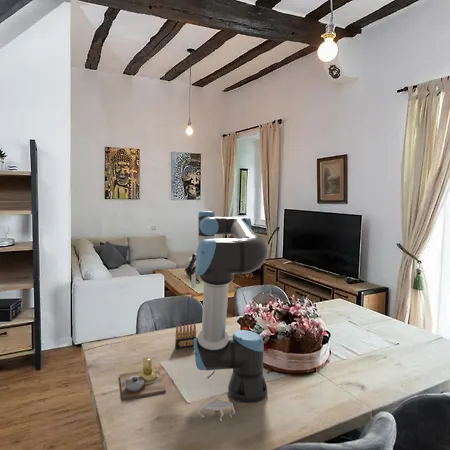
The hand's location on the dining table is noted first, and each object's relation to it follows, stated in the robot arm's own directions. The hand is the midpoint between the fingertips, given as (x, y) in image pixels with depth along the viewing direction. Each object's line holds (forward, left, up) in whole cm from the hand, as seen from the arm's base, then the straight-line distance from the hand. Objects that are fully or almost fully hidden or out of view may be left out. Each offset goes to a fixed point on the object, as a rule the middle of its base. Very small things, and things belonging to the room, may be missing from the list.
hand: (206, 289), depth 169 cm
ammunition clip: (+11, +7, -32) cm, 35 cm away
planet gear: (-15, +29, -31) cm, 45 cm away
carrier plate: (-17, +32, -32) cm, 48 cm away
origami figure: (-46, +11, -32) cm, 57 cm away
